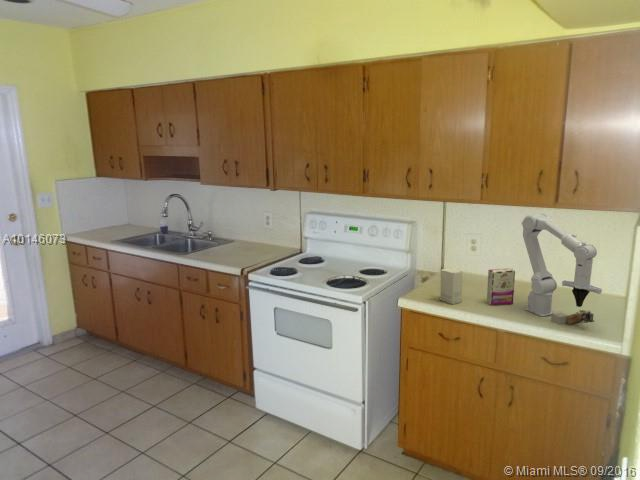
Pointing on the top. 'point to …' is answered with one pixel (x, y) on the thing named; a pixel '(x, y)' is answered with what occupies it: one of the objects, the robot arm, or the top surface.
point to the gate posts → (590, 318)
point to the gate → (577, 316)
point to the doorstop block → (559, 318)
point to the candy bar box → (500, 286)
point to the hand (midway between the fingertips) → (579, 306)
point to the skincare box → (451, 285)
